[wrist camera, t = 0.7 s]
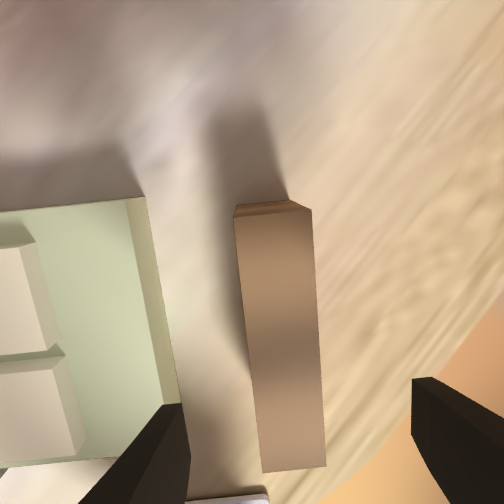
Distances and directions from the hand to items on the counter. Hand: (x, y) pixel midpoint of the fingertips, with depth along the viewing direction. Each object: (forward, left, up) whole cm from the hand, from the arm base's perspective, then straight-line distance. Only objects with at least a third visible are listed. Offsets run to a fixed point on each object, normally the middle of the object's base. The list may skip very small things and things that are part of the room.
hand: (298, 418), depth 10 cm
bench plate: (0, +12, -10) cm, 15 cm away
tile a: (-3, +14, -6) cm, 15 cm away
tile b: (+3, +14, -6) cm, 15 cm away
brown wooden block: (0, 0, -10) cm, 10 cm away
